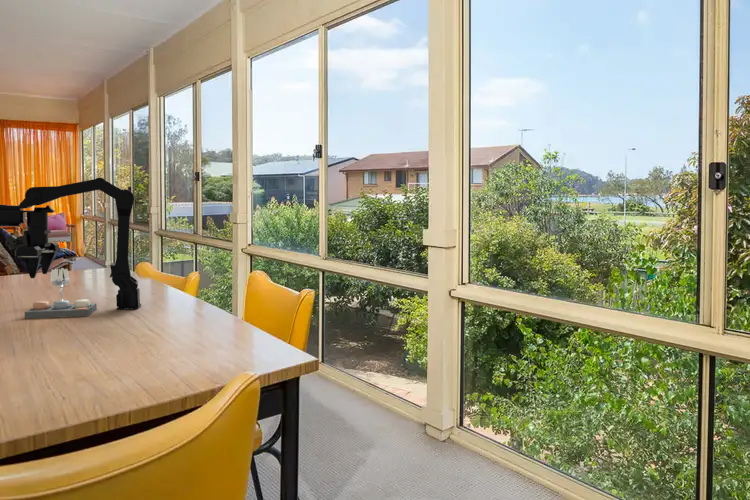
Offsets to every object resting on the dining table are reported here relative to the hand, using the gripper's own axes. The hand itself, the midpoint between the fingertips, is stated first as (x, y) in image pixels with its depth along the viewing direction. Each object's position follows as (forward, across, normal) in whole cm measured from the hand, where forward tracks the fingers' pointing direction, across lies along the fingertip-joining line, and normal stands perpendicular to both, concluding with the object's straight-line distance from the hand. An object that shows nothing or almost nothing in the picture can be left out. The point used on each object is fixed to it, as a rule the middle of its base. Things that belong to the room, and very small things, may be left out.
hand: (38, 276), depth 180 cm
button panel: (+12, +1, +7) cm, 14 cm away
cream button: (+10, +1, +13) cm, 17 cm away
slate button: (+11, +1, +7) cm, 13 cm away
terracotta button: (+11, +1, +1) cm, 11 cm away
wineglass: (+12, -18, 0) cm, 22 cm away
